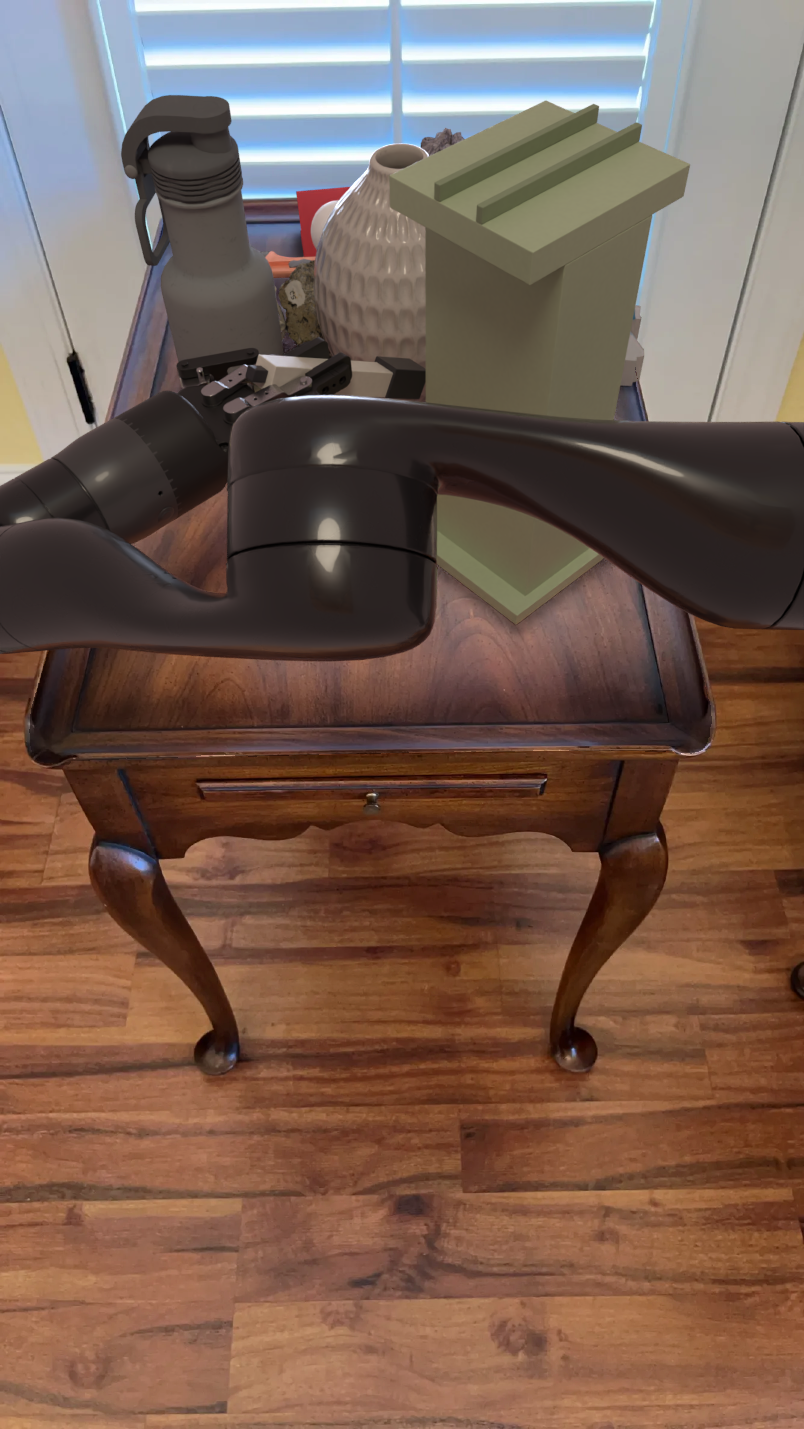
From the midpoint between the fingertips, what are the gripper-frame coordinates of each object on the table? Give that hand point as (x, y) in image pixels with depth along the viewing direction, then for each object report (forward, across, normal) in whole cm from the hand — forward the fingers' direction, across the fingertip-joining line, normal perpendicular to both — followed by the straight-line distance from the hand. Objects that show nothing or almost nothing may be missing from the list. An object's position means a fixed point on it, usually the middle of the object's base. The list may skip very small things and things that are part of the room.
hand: (336, 357), depth 72 cm
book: (+28, +31, +19) cm, 45 cm away
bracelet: (+11, +28, +18) cm, 35 cm away
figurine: (+17, +24, +9) cm, 30 cm away
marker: (0, 0, +3) cm, 3 cm away
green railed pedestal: (+9, -10, +19) cm, 23 cm away
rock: (+17, +20, +19) cm, 32 cm away
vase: (+17, +12, +19) cm, 28 cm away
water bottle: (+3, +21, +18) cm, 28 cm away
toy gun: (+30, +2, +18) cm, 34 cm away
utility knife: (+16, +37, +15) cm, 43 cm away
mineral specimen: (+37, +29, +5) cm, 47 cm away
